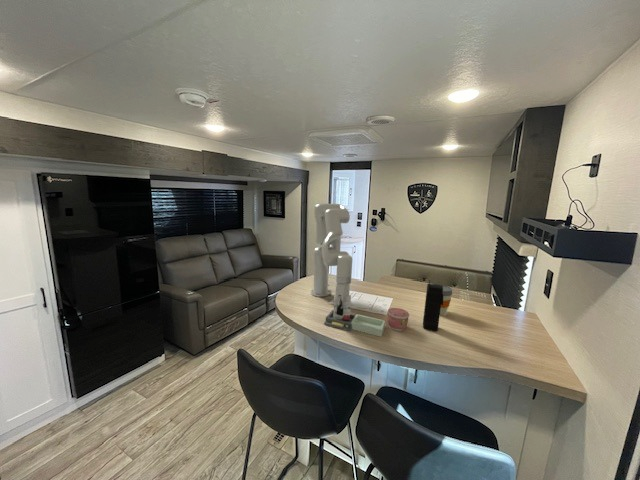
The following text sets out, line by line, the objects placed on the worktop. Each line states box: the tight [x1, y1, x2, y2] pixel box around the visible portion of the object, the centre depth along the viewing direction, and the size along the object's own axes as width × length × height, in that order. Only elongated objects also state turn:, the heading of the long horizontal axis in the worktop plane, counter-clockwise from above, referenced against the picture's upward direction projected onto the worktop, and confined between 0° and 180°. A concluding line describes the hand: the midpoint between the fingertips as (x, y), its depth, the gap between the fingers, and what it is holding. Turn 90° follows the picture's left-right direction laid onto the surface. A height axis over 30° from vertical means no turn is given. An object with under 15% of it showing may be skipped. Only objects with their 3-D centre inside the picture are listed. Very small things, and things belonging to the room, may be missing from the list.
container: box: [386, 307, 410, 332], centre depth 128 cm, size 10×10×8 cm
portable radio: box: [422, 280, 443, 332], centre depth 127 cm, size 8×6×25 cm
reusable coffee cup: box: [433, 283, 453, 316], centre depth 147 cm, size 12×13×15 cm
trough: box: [351, 314, 386, 337], centre depth 127 cm, size 10×15×4 cm, turn 66°
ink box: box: [333, 294, 352, 320], centre depth 131 cm, size 9×5×12 cm, turn 84°
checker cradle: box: [323, 309, 356, 332], centre depth 132 cm, size 14×14×3 cm
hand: (341, 312), depth 132 cm, fingers closed on ink box, 6 cm apart
